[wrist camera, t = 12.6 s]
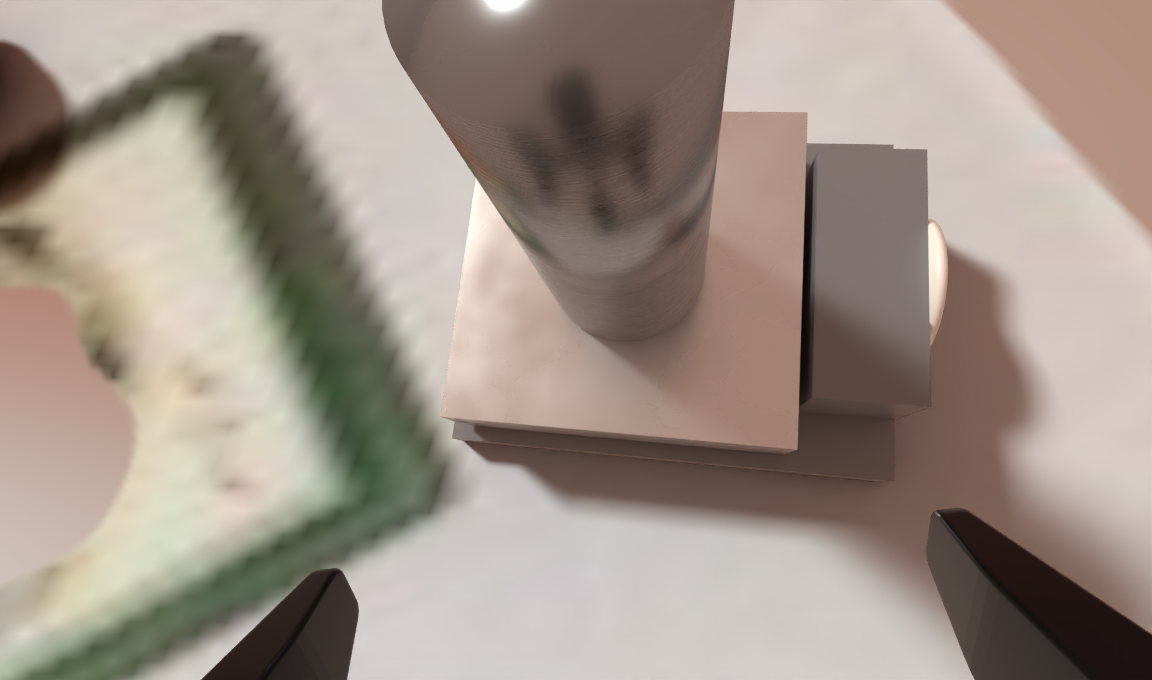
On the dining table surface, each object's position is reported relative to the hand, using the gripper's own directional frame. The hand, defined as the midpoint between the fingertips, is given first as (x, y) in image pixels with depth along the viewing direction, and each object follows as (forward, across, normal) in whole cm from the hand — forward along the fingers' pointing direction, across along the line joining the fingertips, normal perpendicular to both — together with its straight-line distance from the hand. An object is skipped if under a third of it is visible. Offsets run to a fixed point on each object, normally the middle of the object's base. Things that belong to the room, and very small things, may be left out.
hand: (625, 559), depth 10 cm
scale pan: (+14, -1, +2) cm, 15 cm away
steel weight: (+12, 0, +1) cm, 13 cm away
